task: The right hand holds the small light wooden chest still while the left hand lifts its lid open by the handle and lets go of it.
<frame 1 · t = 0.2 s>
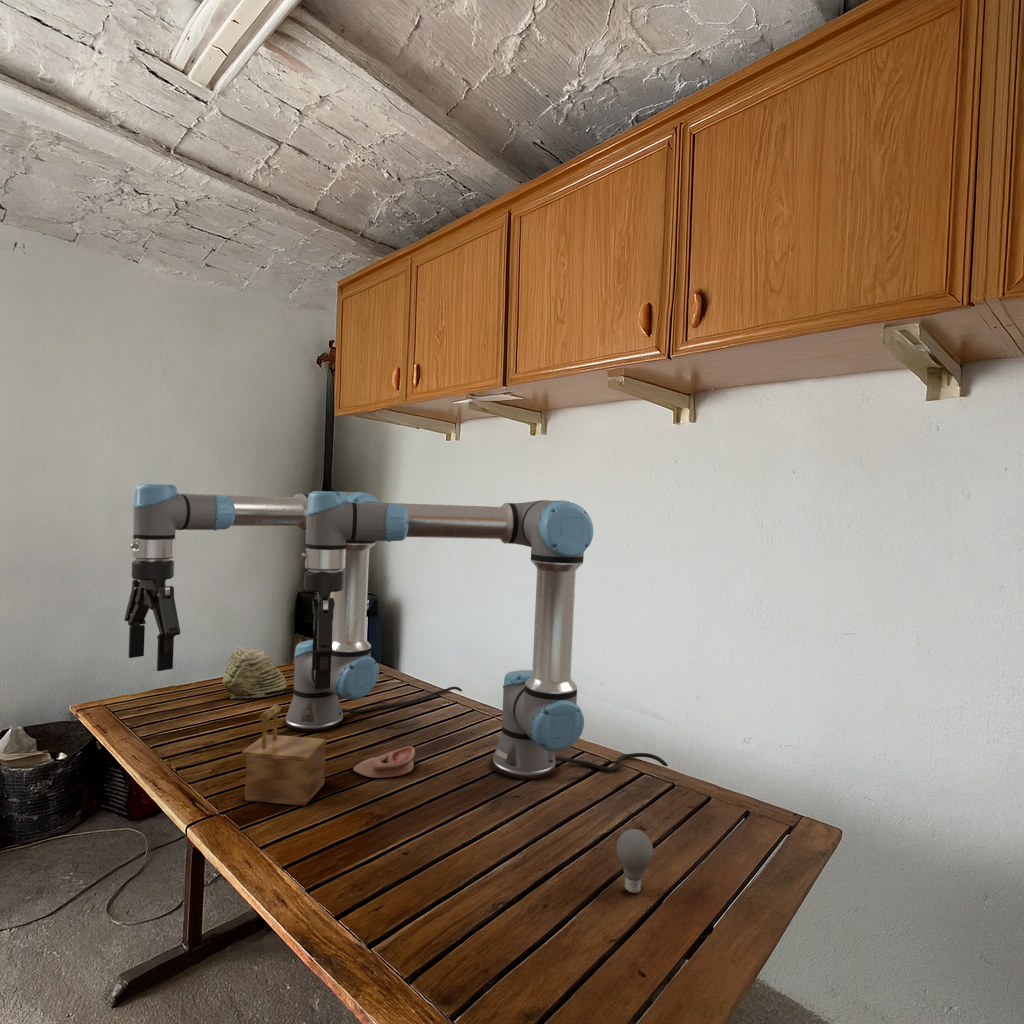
left hand: (150, 663, 129), 28 cm above the table, tool pointing down, fingers open, 13 cm apart
right hand: (320, 678, 124), 28 cm above the table, tool pointing down, fingers open, 13 cm apart
anatomical model: (384, 768, 149), on the table
fossil: (254, 694, 198), on the table
lid: (285, 729, 135), point 13 cm above the table, hinge at 0.0°
chest: (285, 792, 135), on the table
light bulb: (632, 891, 106), on the table
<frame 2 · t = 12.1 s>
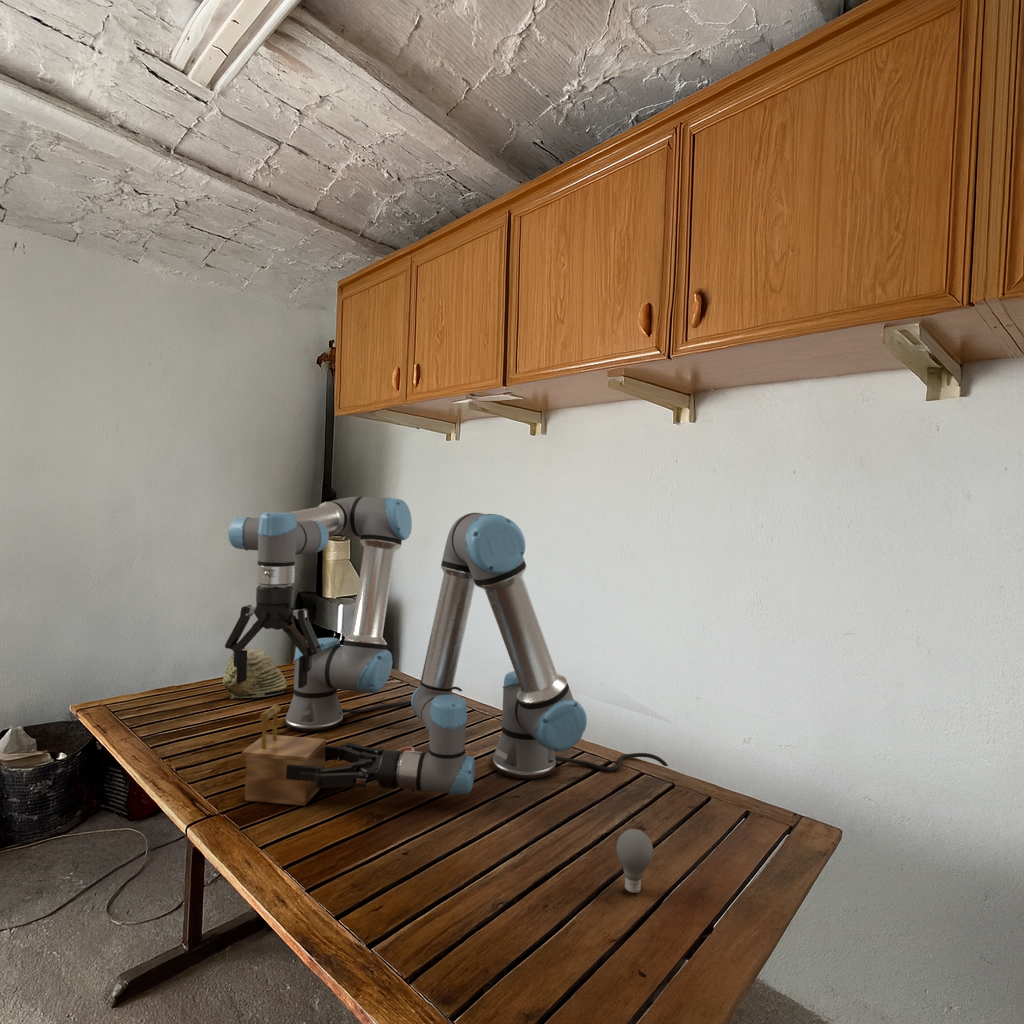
left hand: (271, 684, 135), 23 cm above the table, tool pointing down, fingers open, 13 cm apart
right hand: (298, 761, 135), 7 cm above the table, tool horizontal, fingers closed on chest, 10 cm apart
chest: (285, 792, 135), on the table, touching right hand
everything else where it was.
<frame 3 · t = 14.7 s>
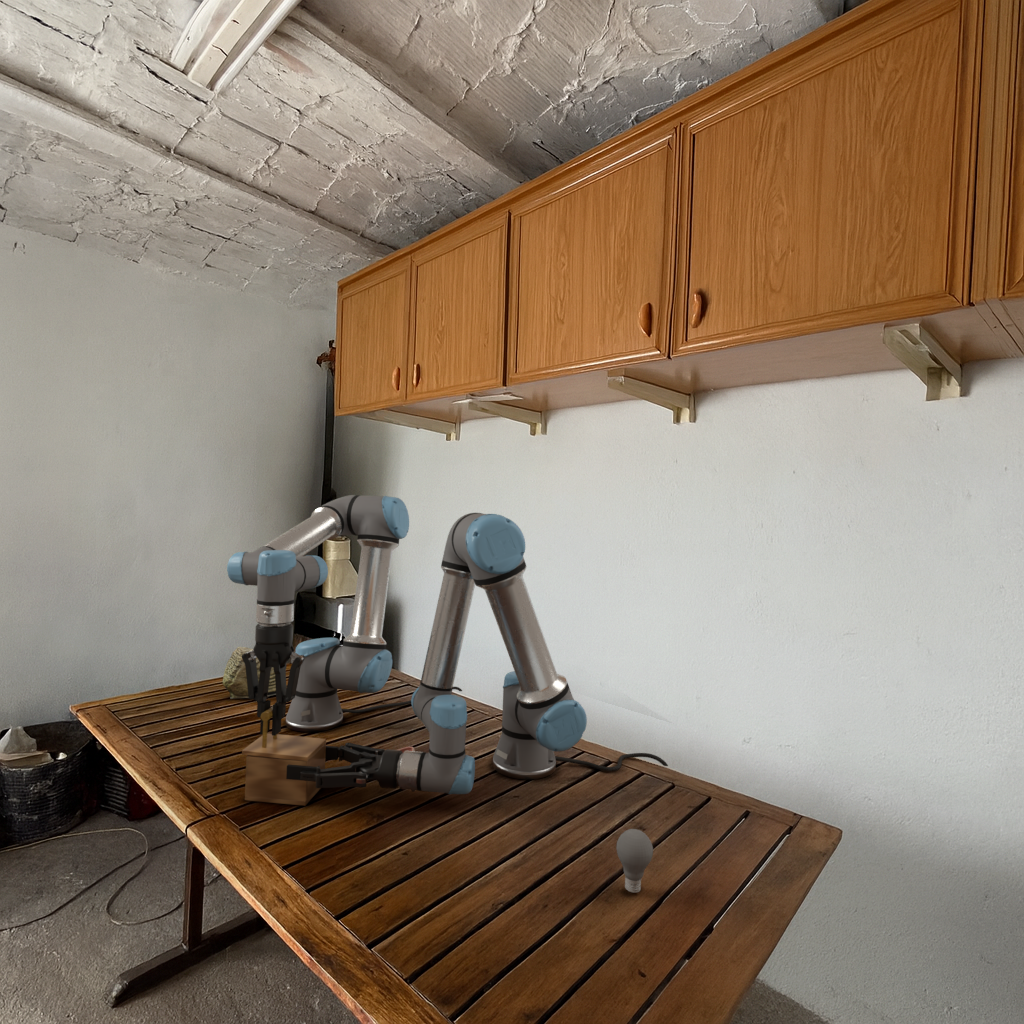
left hand: (270, 732, 135), 13 cm above the table, tool pointing down, fingers closed on lid, 2 cm apart
right hand: (298, 760, 135), 7 cm above the table, tool horizontal, fingers closed on chest, 10 cm apart
lid: (286, 728, 135), point 14 cm above the table, hinge at 1.1°, touching left hand
chest: (285, 791, 135), on the table, touching right hand
everything else where it was.
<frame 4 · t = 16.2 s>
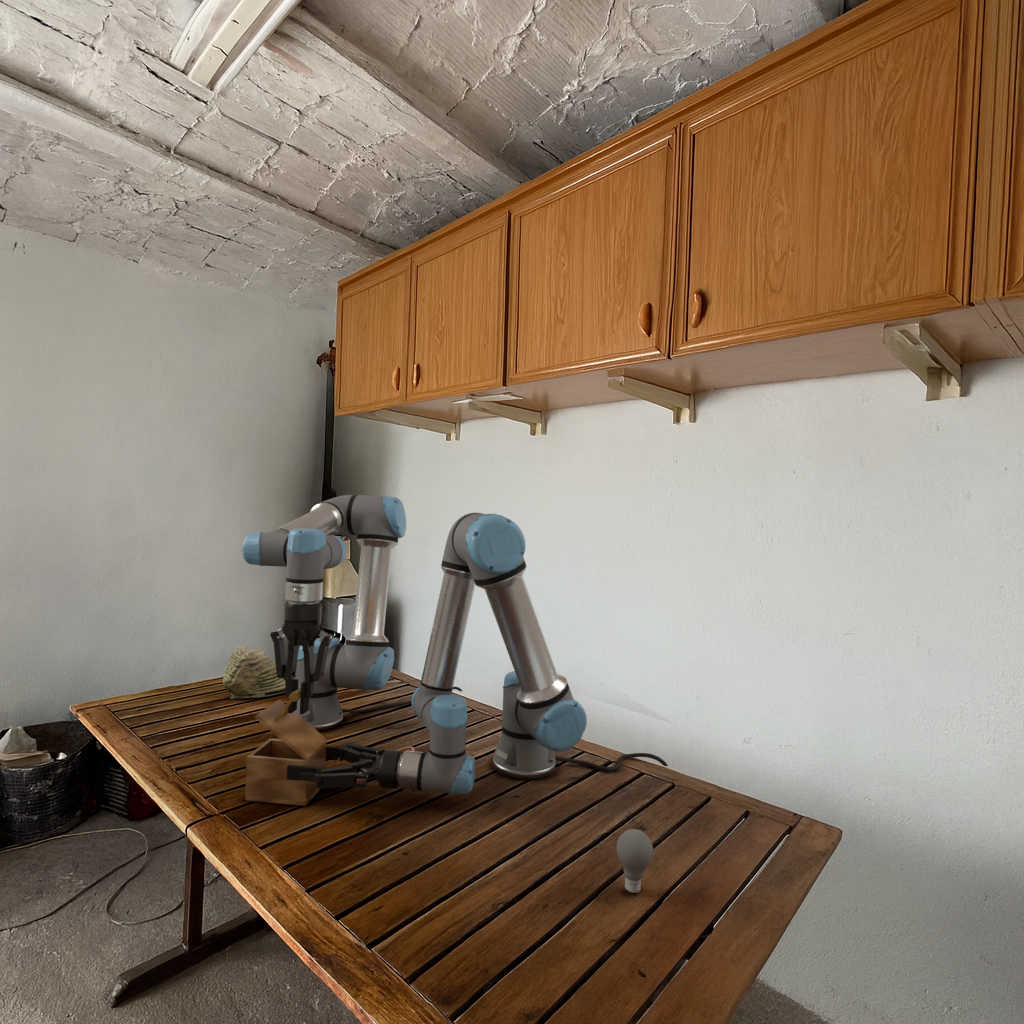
left hand: (298, 711, 135), 17 cm above the table, tool pointing down, fingers closed on lid, 2 cm apart
right hand: (299, 761, 135), 7 cm above the table, tool horizontal, fingers closed on chest, 10 cm apart
lid: (302, 715, 135), point 17 cm above the table, hinge at 35.4°, touching left hand
chest: (286, 792, 135), on the table, touching right hand
everything else where it was.
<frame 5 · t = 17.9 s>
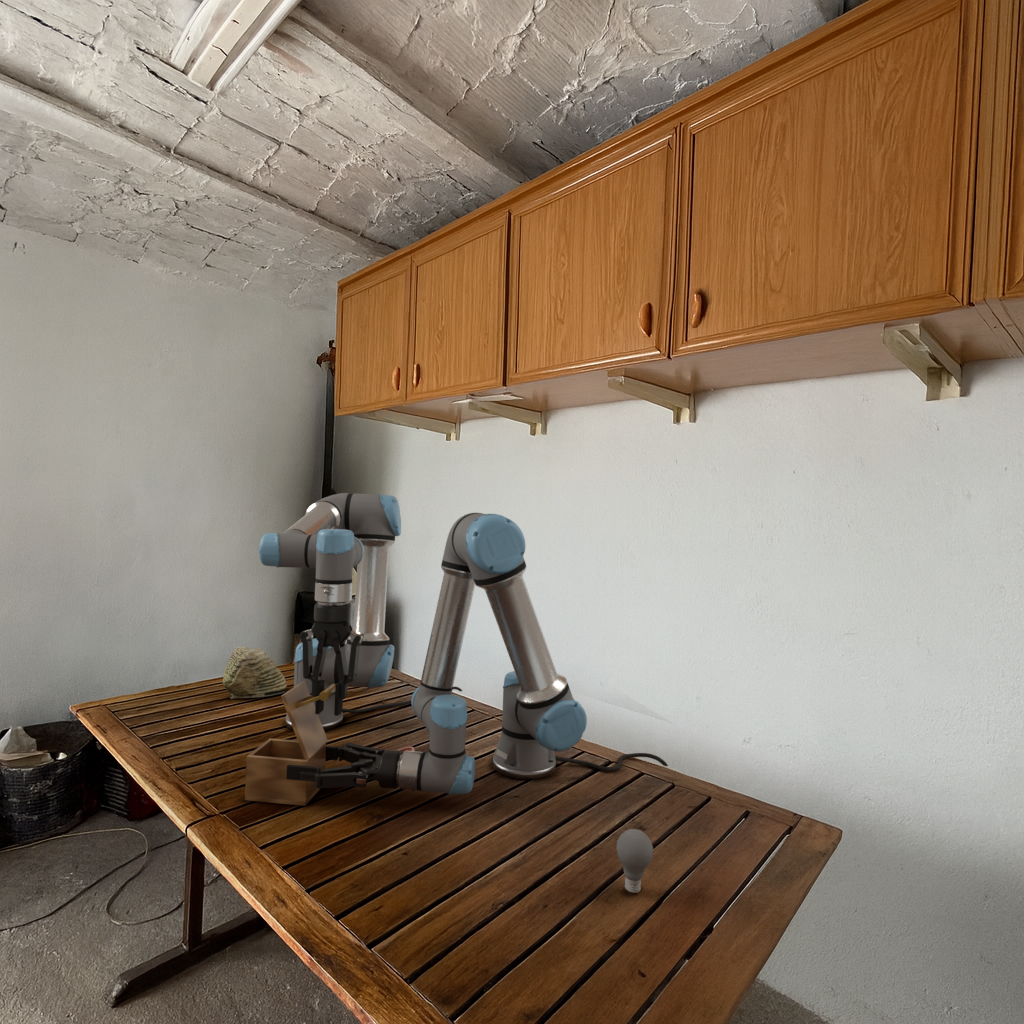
left hand: (328, 712, 134), 18 cm above the table, tool pointing down, fingers open, 3 cm apart
right hand: (298, 761, 135), 7 cm above the table, tool horizontal, fingers closed on chest, 10 cm apart
lid: (321, 712, 134), point 18 cm above the table, hinge at 65.6°
chest: (285, 791, 135), on the table, touching right hand
everything else where it was.
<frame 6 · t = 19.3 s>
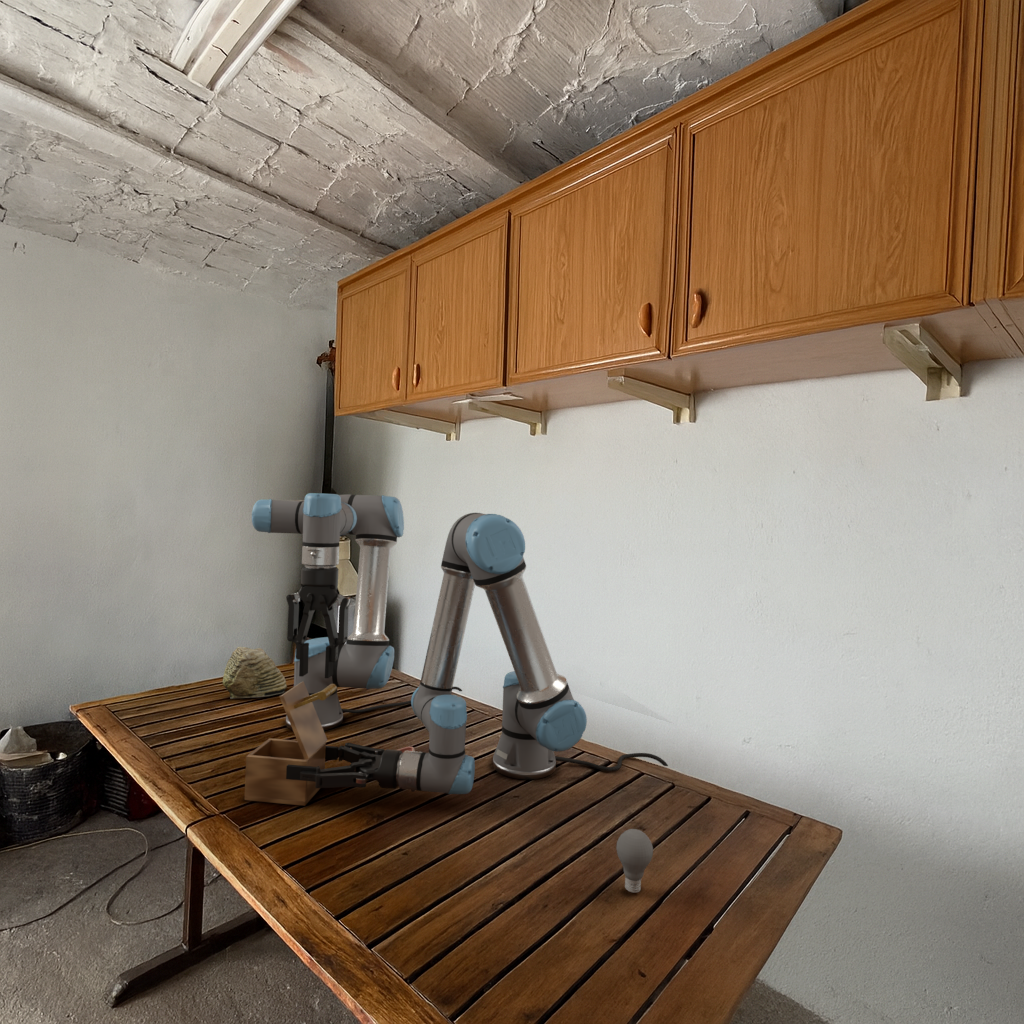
left hand: (316, 675, 134), 25 cm above the table, tool pointing down, fingers open, 5 cm apart
right hand: (298, 761, 135), 7 cm above the table, tool horizontal, fingers closed on chest, 10 cm apart
lid: (320, 712, 134), point 18 cm above the table, hinge at 64.5°
chest: (285, 791, 135), on the table, touching right hand
everything else where it was.
when the right hand's fingers open (7 cm above the table, at t = 21.5 s): chest stays where it is, on the table.
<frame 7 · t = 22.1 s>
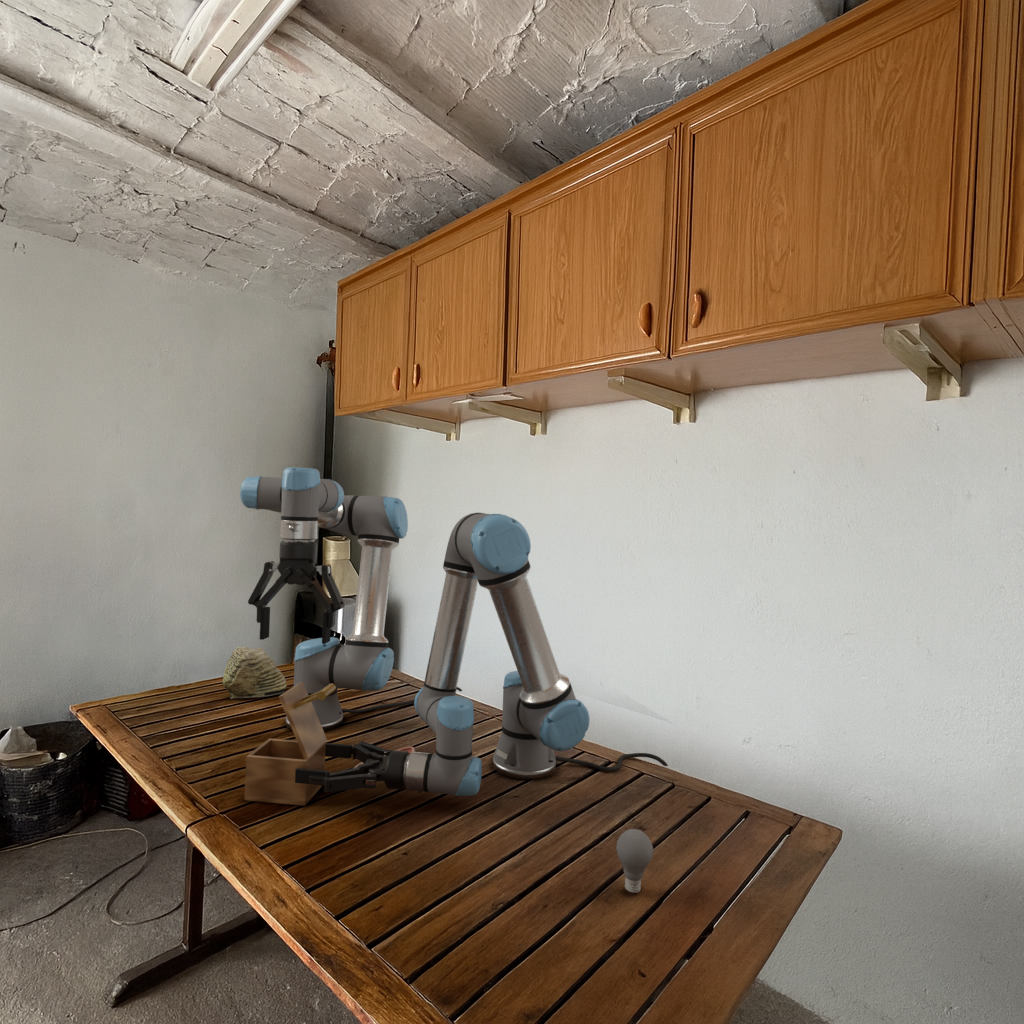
left hand: (295, 640, 134), 33 cm above the table, tool pointing down, fingers open, 13 cm apart
right hand: (310, 761, 135), 7 cm above the table, tool horizontal, fingers open, 13 cm apart
lid: (319, 712, 134), point 18 cm above the table, hinge at 64.0°
chest: (285, 791, 135), on the table
everything else where it was.
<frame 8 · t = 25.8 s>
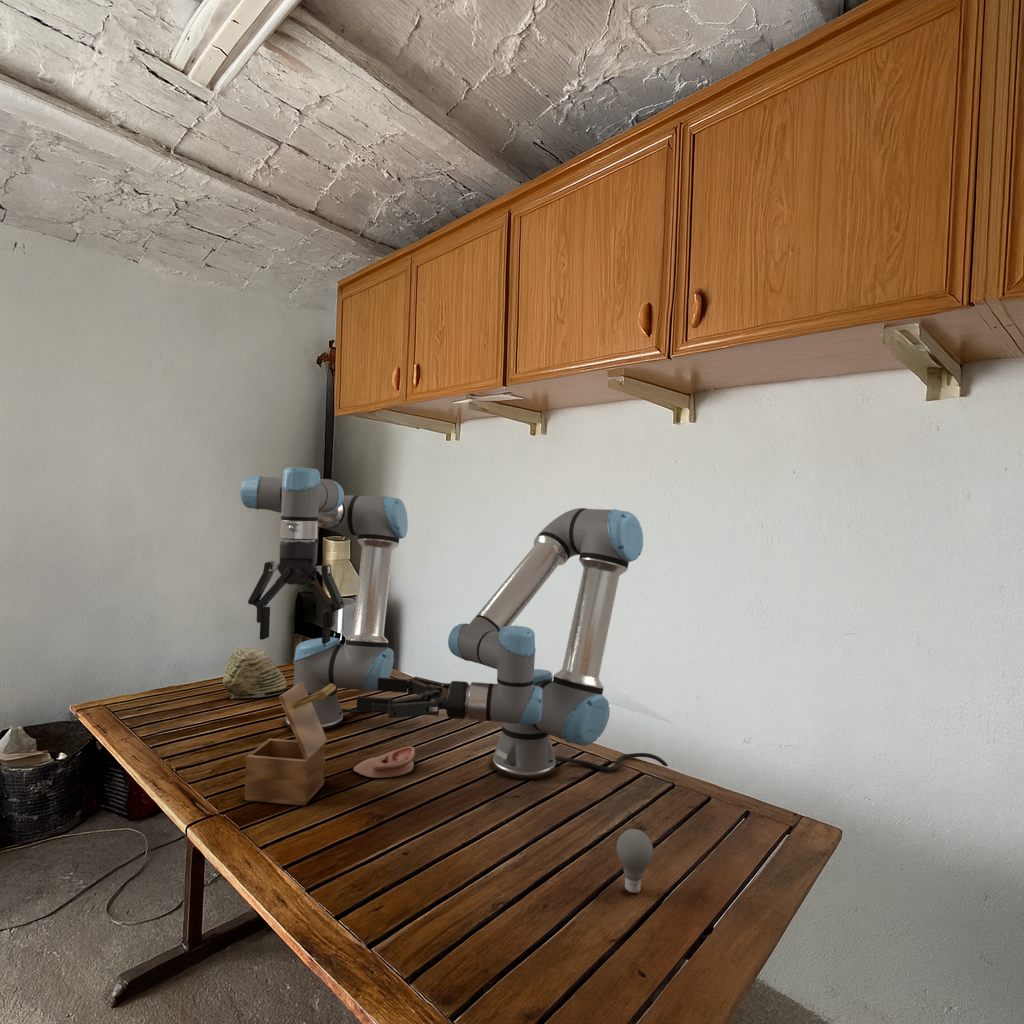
left hand: (295, 640, 134), 33 cm above the table, tool pointing down, fingers open, 13 cm apart
right hand: (368, 693, 133), 22 cm above the table, tool horizontal, fingers open, 13 cm apart
nothing on the table moved.
at the end: lid at +64° (first picture: +0°); the left hand is holding nothing; the right hand is holding nothing; chest tilted 0°; chest never tilted more than 1° during the clip; chest moved 0.1 cm from its start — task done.
